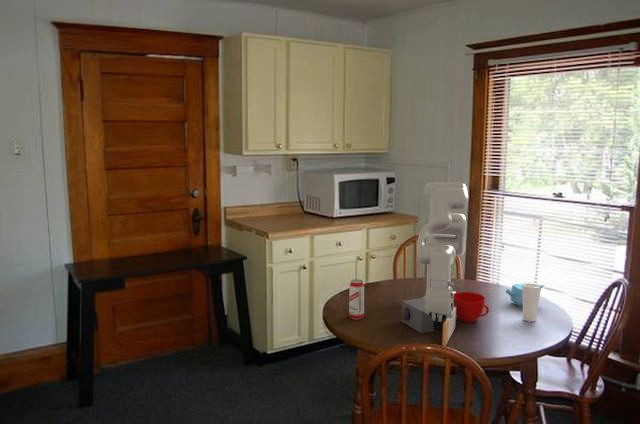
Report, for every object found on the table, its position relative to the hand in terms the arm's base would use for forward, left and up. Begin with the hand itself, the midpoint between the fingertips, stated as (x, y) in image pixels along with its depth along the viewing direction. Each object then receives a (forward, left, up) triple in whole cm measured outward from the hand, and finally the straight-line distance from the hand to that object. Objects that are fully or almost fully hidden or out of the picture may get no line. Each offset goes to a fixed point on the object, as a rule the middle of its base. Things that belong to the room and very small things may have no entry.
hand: (437, 330), depth 202 cm
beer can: (+15, -36, -5) cm, 40 cm away
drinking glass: (-50, -5, -5) cm, 51 cm away
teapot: (-63, -21, -5) cm, 66 cm away
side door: (-8, -3, -5) cm, 9 cm away
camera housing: (-8, -18, -5) cm, 20 cm away
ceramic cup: (-27, -14, -5) cm, 31 cm away
